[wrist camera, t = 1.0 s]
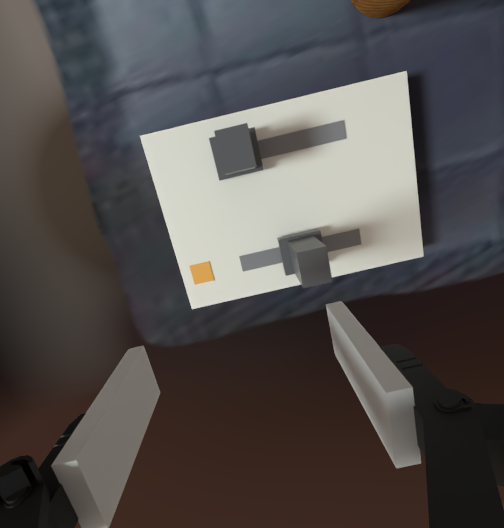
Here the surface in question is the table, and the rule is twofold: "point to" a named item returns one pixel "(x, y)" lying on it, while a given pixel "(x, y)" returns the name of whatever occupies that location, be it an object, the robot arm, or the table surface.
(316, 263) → the block
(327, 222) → the panel
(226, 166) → the block
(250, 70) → the table surface
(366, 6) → the disposable coffee cup
